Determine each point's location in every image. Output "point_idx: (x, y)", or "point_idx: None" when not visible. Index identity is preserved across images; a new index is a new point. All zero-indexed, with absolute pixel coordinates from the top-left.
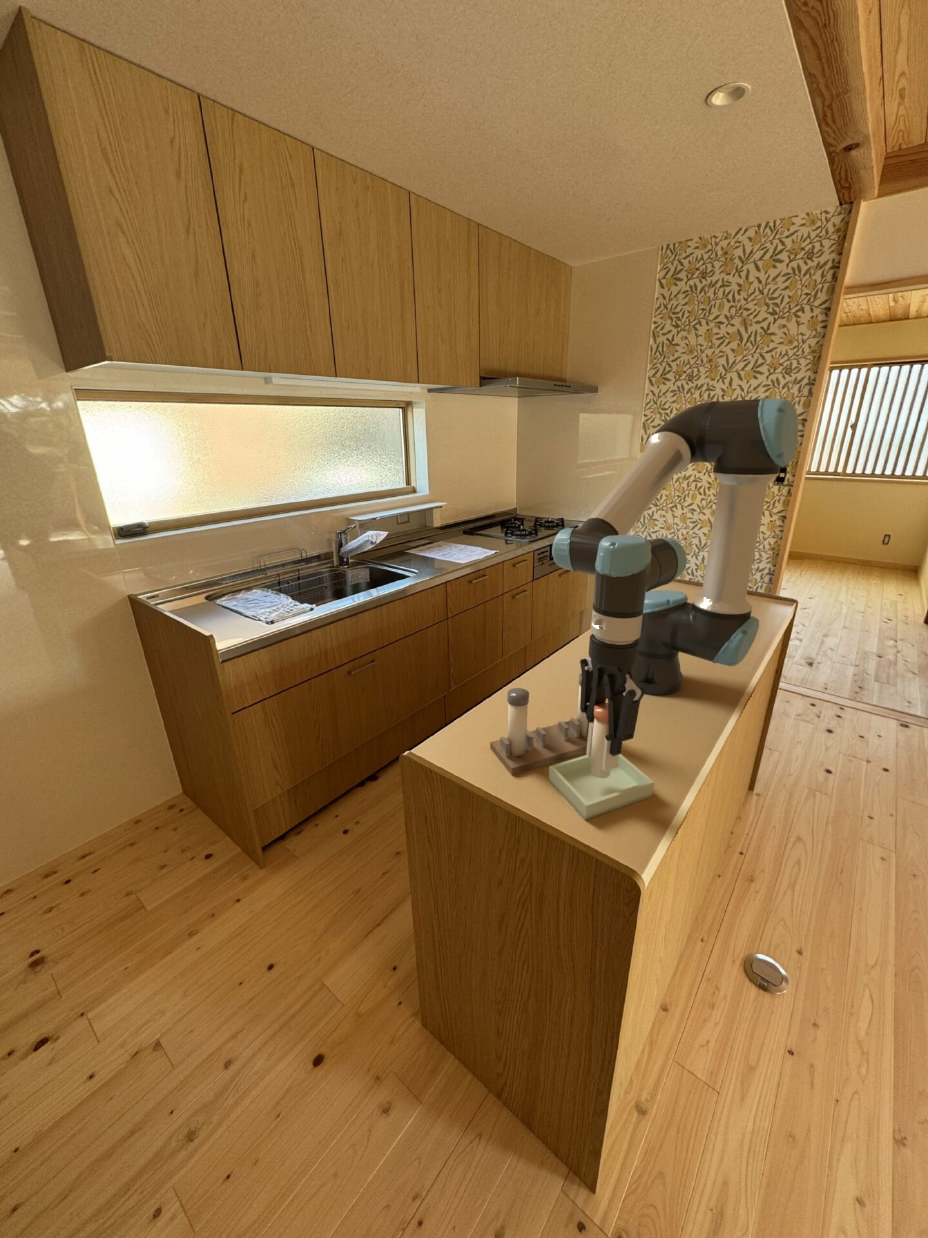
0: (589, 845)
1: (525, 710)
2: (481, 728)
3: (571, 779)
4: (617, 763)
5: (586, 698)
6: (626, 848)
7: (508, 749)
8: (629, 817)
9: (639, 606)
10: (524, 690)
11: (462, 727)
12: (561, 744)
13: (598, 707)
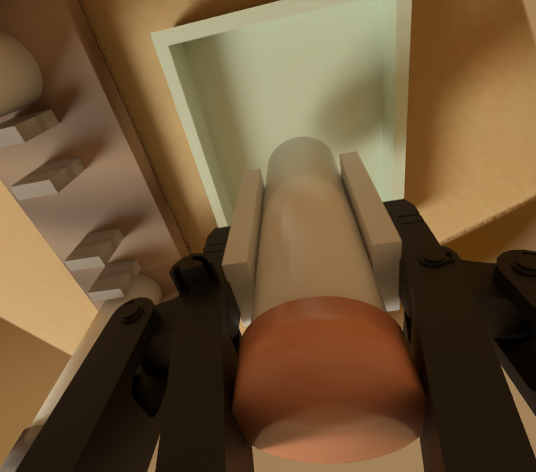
0: (449, 237)
1: None
2: (34, 306)
3: None
4: (360, 158)
5: (149, 443)
6: (504, 171)
7: None
8: (428, 110)
9: None
10: (16, 468)
11: (37, 333)
12: (107, 185)
13: (292, 445)
